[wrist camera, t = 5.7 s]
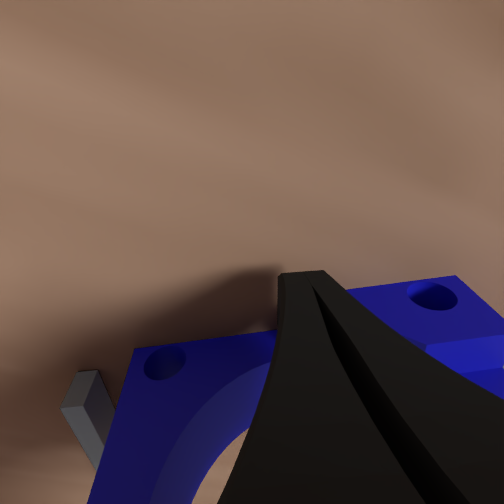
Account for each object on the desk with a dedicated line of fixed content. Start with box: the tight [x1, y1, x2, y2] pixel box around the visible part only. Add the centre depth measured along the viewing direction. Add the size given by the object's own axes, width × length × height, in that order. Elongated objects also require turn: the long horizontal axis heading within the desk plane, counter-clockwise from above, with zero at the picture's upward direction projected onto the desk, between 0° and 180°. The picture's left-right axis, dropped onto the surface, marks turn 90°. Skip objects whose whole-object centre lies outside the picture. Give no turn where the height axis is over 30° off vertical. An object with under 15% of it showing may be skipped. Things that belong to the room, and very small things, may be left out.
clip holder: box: [60, 365, 504, 471], centre depth 16 cm, size 17×16×2 cm
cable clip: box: [87, 275, 504, 504], centre depth 10 cm, size 12×4×6 cm, turn 96°
